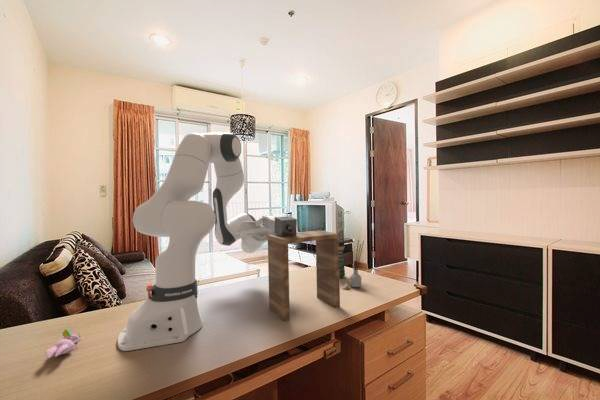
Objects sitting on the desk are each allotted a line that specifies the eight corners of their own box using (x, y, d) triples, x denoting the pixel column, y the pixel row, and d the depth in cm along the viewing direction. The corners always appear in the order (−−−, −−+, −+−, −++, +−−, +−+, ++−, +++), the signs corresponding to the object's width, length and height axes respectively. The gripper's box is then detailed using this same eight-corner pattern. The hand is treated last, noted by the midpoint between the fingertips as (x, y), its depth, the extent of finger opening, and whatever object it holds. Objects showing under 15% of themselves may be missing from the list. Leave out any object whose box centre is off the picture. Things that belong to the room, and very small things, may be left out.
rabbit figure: (60, 347, 80) (34, 368, 67) (60, 325, 81) (35, 341, 67) (87, 342, 83) (68, 361, 69) (87, 321, 84) (68, 335, 70)
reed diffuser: (360, 283, 127) (359, 238, 126) (371, 288, 120) (370, 240, 120) (341, 287, 122) (340, 240, 121) (351, 292, 116) (350, 243, 115)
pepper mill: (283, 237, 95) (283, 221, 94) (260, 225, 113) (260, 211, 112) (298, 236, 97) (298, 220, 97) (273, 224, 116) (273, 210, 115)
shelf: (284, 321, 91) (282, 239, 90) (269, 308, 101) (267, 235, 101) (339, 306, 101) (338, 233, 101) (321, 296, 112) (320, 230, 111)
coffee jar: (329, 280, 132) (329, 240, 132) (322, 275, 140) (321, 238, 139) (347, 277, 136) (347, 238, 136) (339, 273, 143) (338, 236, 143)
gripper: (233, 228, 119) (242, 213, 108) (278, 224, 129) (290, 210, 118) (236, 242, 116) (245, 228, 106) (281, 237, 126) (294, 224, 115)
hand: (269, 219), depth 112 cm, fingers closed on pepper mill, 4 cm apart
